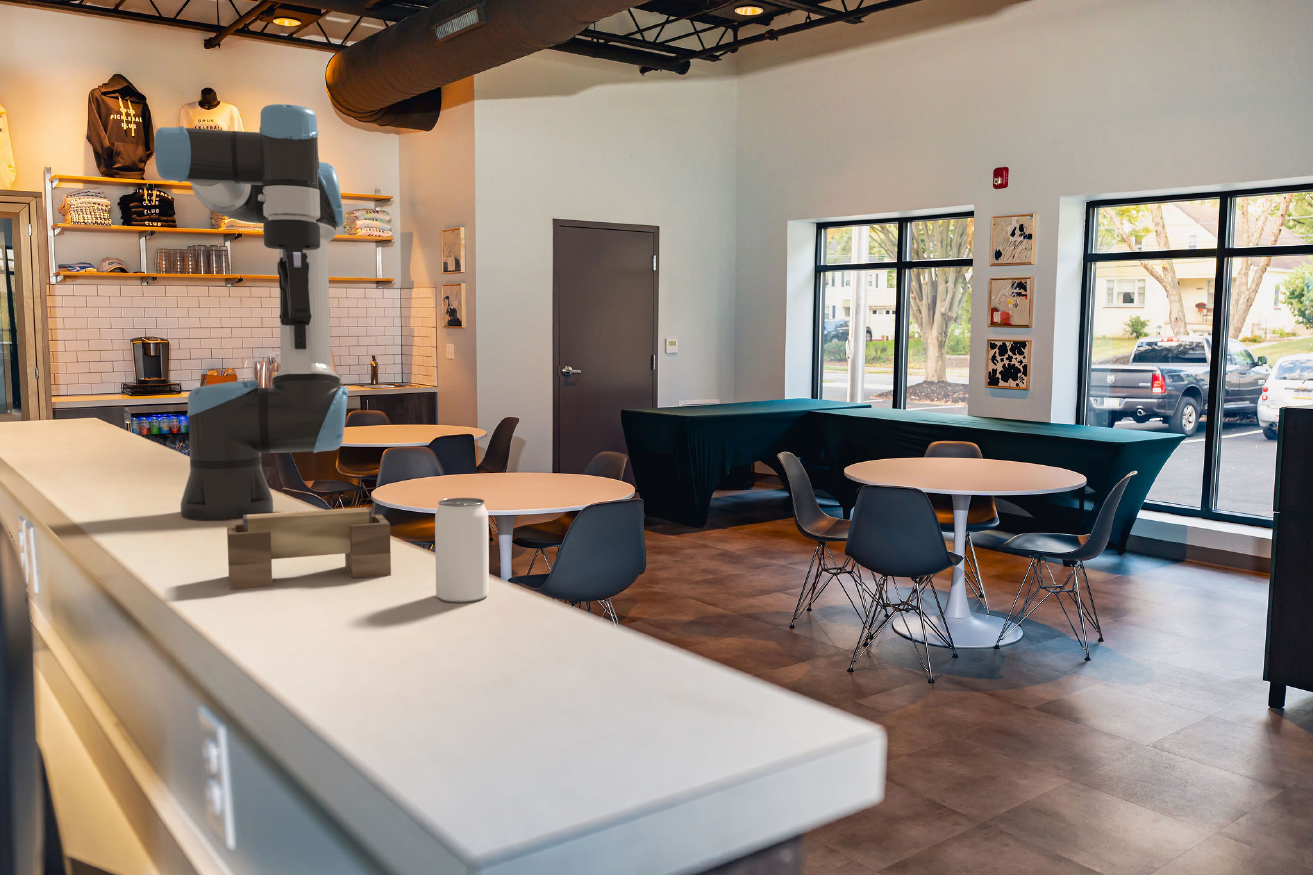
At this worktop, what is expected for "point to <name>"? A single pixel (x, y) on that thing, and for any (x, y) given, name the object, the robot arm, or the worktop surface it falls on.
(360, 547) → the post
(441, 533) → the can
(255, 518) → the rail
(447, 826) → the worktop surface
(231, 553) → the post
